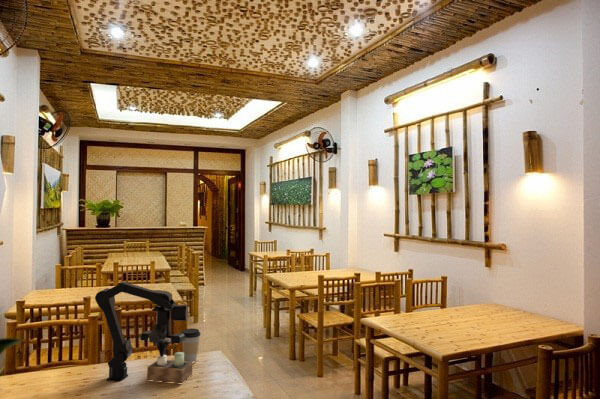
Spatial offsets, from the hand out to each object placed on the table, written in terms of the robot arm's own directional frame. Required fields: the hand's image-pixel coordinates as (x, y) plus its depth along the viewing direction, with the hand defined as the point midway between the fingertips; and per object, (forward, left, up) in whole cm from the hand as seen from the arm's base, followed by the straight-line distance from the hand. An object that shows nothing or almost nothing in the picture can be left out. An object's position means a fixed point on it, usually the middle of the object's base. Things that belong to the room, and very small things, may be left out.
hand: (162, 356), depth 180 cm
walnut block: (+4, 0, -9) cm, 10 cm away
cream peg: (0, 0, -6) cm, 6 cm away
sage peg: (+8, 0, -4) cm, 9 cm away
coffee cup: (+4, +20, -9) cm, 22 cm away
